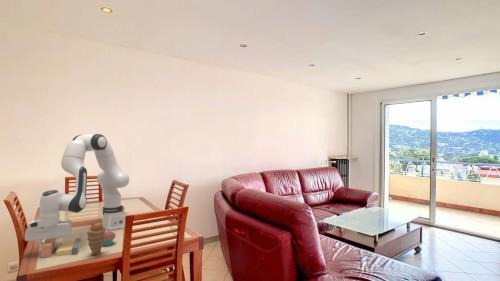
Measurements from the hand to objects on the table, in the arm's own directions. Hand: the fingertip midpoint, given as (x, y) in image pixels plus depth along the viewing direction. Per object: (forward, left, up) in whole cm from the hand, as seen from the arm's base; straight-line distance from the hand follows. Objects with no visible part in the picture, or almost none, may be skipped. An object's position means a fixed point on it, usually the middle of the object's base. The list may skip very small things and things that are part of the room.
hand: (48, 246), depth 144 cm
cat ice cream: (-23, +11, -4) cm, 26 cm away
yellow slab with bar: (-9, 0, -4) cm, 10 cm away
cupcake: (-28, -2, -4) cm, 29 cm away
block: (0, 0, -4) cm, 4 cm away
